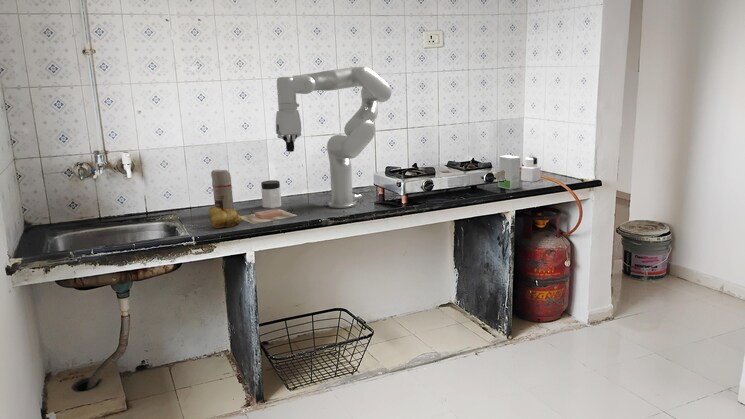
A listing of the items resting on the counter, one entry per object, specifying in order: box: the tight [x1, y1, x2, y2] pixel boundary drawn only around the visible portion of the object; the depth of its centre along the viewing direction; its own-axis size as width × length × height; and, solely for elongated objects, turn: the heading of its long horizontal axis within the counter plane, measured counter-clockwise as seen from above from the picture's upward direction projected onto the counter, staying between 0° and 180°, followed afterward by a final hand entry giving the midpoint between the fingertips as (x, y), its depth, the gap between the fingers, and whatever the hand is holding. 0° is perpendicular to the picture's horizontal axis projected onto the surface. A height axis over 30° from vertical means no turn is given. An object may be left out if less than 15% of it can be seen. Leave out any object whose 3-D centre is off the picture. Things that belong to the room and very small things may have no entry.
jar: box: [260, 179, 282, 209], centre depth 277 cm, size 9×8×12 cm
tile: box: [254, 208, 282, 219], centre depth 258 cm, size 2×7×9 cm
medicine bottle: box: [520, 156, 541, 183], centre depth 319 cm, size 7×7×12 cm
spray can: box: [210, 168, 235, 210], centre depth 267 cm, size 8×8×20 cm
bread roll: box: [208, 206, 243, 229], centre depth 249 cm, size 13×10×8 cm
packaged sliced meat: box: [240, 208, 298, 225], centre depth 258 cm, size 20×16×1 cm
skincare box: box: [497, 154, 521, 190], centre depth 302 cm, size 8×7×16 cm
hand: (290, 151), depth 259 cm, fingers closed
